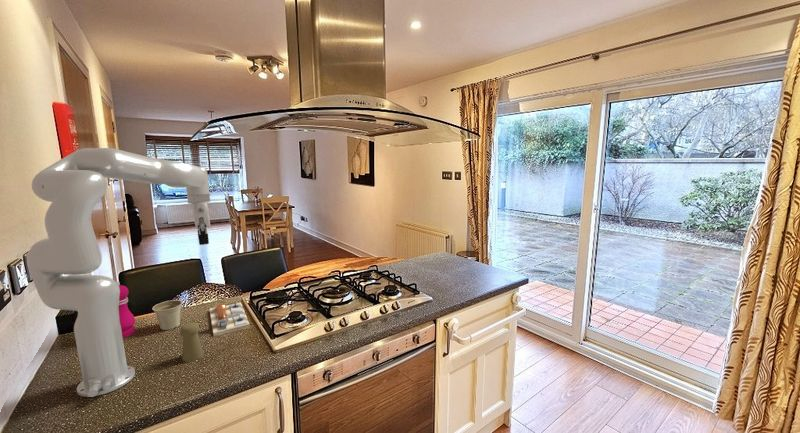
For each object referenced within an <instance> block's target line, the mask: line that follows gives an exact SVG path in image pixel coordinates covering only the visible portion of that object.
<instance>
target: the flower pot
mask: <svg viewBox="0 0 800 433" xmlns="http://www.w3.org/2000/svg"><path fill="white" fill-rule="evenodd" d="M182 304H183V300H179V299H175V300H174V299H173V300H166V301H163V302H160V303H157V304H155V305H154V306H152V308H151V310H152V311H153V312H154V314H155V315H156V316H155V317H156V319H157V322H158V324H159V328H160V330H163V331H169V330H173V329H175V328H177V327H179V326H180V325H181V308H182Z"/></svg>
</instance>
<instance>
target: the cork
mask: <svg viewBox="0 0 800 433" xmlns="http://www.w3.org/2000/svg"><path fill="white" fill-rule="evenodd" d="M199 331H200V325H199V324H198V323H197V322H188V323H185V324H183V325H181V327H180V330H179V332H180V335H181V336H182V351H181V352H182V354H181V355H182V356H181V360H182V361H183V362H185V363H187V362H189V363H190V362H194V361H197V360H200V359H201V358H202V357H203V356H204V355H205V353H204V350H203V346H202V342H201V339H200V336H199Z"/></svg>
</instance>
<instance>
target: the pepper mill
mask: <svg viewBox="0 0 800 433" xmlns="http://www.w3.org/2000/svg"><path fill="white" fill-rule="evenodd" d="M116 282H117V284H118V286H119V289H120V296H119V319H120V325H121V331H122V337H123V339H124V338H127V337H130V336H132V335H134V334H135V333H136V327H135V326H134V325H135V324H136V318H135V316H134V314H133V313H132V312H131V311H130V309H129V307H128V302H129V298H128V296H129V288H128V287H127V286H125V285H122V284H120V283H121V282H118V281H116Z"/></svg>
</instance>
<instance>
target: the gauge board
mask: <svg viewBox="0 0 800 433" xmlns="http://www.w3.org/2000/svg"><path fill="white" fill-rule="evenodd" d="M218 304H221V303H215V304H214V307H211V308H209V315H210V321H211V328H212V334H213V337H217V336H221V335H224V334H229V333H232V332H233V333H234V332H237V331H241V330H245V329H249V328H250V327H251V324H250V322H249V319H248V317H247V315H246V312H245V309H244V307H243V303H242V302H241V301H239V302H237V301H231V302H225V304H226V314H227V316H230V315H234V314H239V313H240V315H241V319H239V316H237V317H233V318H228V324H227V323H226V321H224V322H220V326H218V324H217V317H218V316H217V307H216V306H217V305H218Z"/></svg>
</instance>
